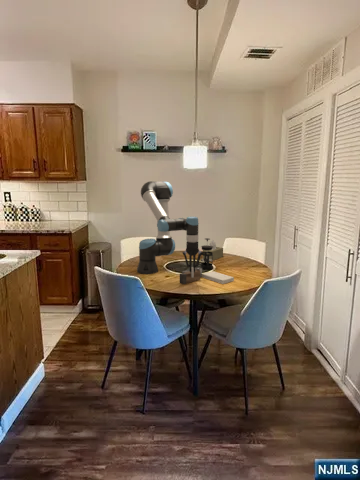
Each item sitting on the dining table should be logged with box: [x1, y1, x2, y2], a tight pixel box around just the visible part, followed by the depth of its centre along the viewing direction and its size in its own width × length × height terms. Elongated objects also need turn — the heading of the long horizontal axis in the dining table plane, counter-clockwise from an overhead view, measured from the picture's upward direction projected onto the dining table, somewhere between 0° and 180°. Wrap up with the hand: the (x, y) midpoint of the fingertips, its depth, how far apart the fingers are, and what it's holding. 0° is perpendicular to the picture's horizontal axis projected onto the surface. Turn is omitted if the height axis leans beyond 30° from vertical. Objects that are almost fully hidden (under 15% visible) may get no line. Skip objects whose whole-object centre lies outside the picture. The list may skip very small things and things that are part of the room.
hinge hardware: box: [181, 266, 203, 278], centre depth 218 cm, size 16×6×7 cm, turn 131°
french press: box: [198, 238, 214, 271], centre depth 243 cm, size 12×9×23 cm
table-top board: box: [201, 271, 235, 285], centre depth 218 cm, size 11×19×2 cm, turn 41°
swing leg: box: [179, 270, 201, 285], centre depth 212 cm, size 4×16×6 cm, turn 136°
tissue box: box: [202, 239, 224, 261], centre depth 278 cm, size 19×10×16 cm, turn 143°
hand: (192, 276), depth 209 cm, fingers closed
